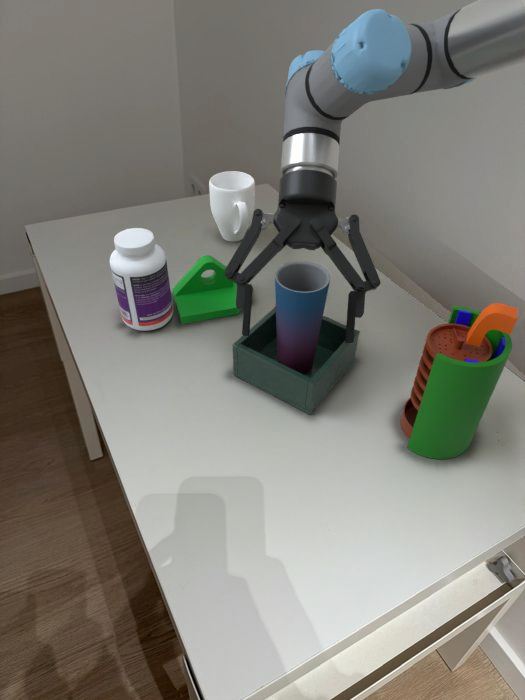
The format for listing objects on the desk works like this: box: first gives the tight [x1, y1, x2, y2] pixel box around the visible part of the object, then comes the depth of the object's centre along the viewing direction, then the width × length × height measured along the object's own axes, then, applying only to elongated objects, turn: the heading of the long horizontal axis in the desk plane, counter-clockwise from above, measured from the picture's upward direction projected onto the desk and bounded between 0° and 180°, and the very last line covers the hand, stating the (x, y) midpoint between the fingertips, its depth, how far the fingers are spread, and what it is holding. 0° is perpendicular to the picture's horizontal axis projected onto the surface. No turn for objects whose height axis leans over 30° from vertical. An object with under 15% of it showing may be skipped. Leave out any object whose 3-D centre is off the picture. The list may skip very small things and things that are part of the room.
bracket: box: [171, 254, 242, 325], centre depth 82 cm, size 12×8×7 cm, turn 107°
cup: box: [274, 260, 331, 375], centre depth 68 cm, size 7×7×15 cm
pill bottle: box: [109, 227, 174, 332], centre depth 77 cm, size 8×8×14 cm
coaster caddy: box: [400, 302, 519, 460], centre depth 60 cm, size 10×9×20 cm
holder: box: [232, 306, 361, 416], centre depth 72 cm, size 13×13×6 cm
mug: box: [208, 170, 256, 242], centre depth 96 cm, size 12×8×11 cm
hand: (297, 339), depth 67 cm, fingers open, 13 cm apart
